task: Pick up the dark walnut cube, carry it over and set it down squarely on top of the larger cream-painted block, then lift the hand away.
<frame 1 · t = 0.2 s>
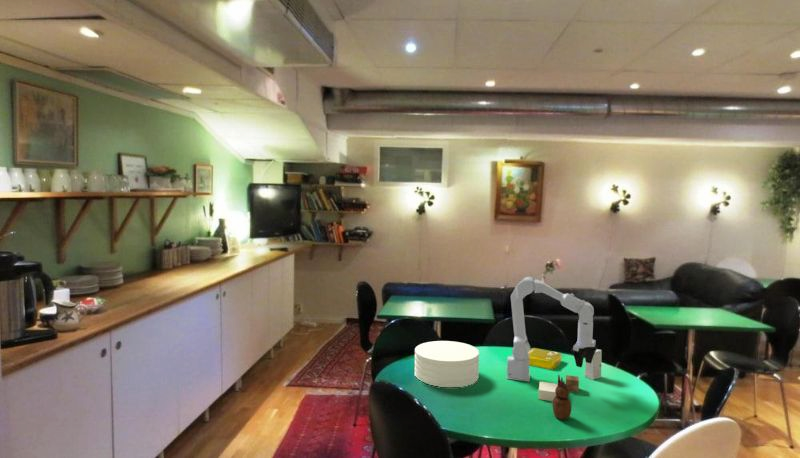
hand: (583, 364, 195), 10 cm above the table, tool pointing down, fingers open, 7 cm apart
plate stack: (446, 376, 208), on the table
wooden figurine: (561, 418, 168), on the table
walnut cube: (571, 389, 194), on the table
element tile: (541, 363, 226), on the table
cream base block: (550, 397, 187), on the table
skincare box: (592, 377, 208), on the table
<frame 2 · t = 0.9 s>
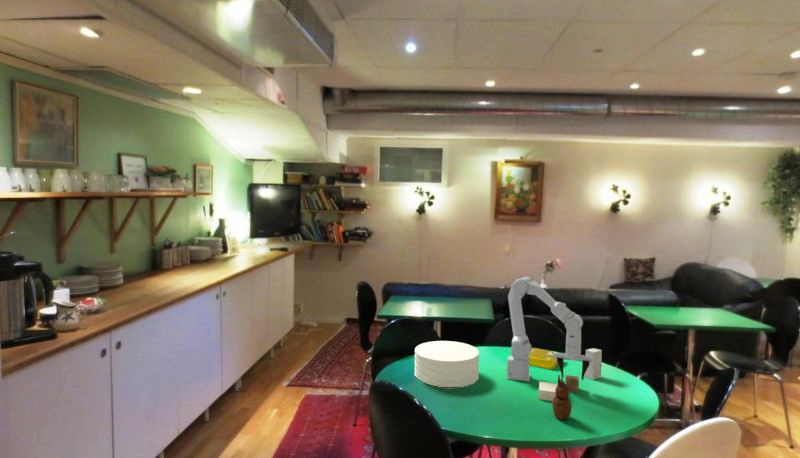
hand: (572, 377, 193), 5 cm above the table, tool pointing down, fingers open, 7 cm apart
nothing on the table moved.
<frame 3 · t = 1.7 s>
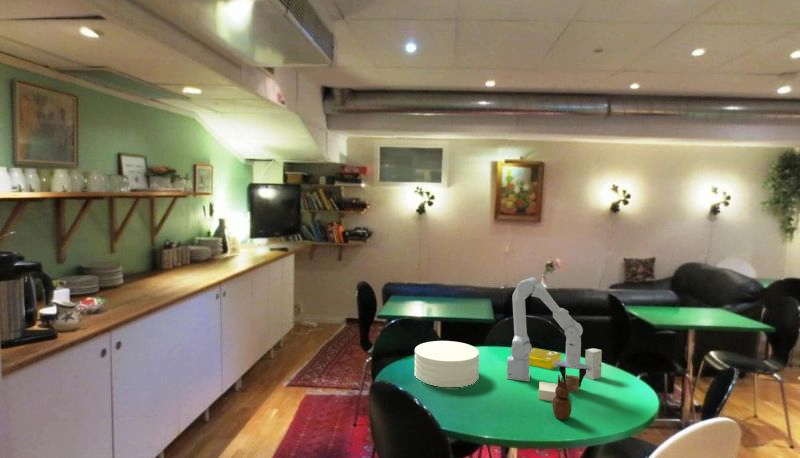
hand: (571, 385, 193), 2 cm above the table, tool pointing down, fingers closed on walnut cube, 5 cm apart
walnut cube: (571, 389, 194), on the table, touching gripper
everything else where it was.
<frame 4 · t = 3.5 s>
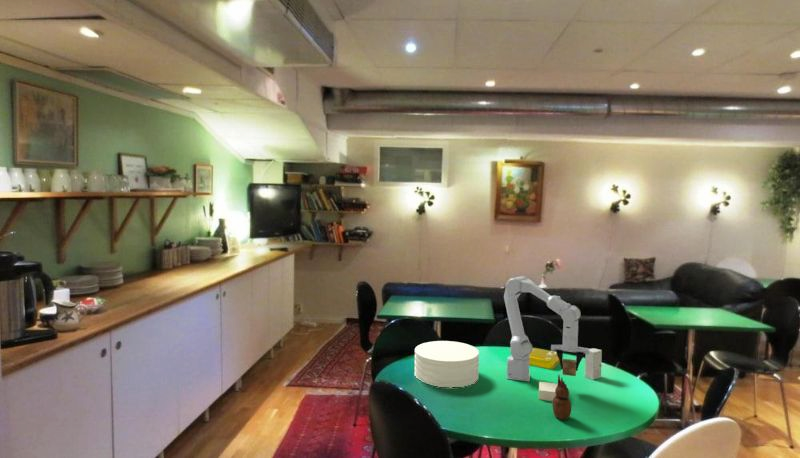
hand: (569, 369, 192), 9 cm above the table, tool pointing down, fingers closed on walnut cube, 5 cm apart
walnut cube: (569, 373, 192), point 7 cm above the table, touching gripper
everything else where it was.
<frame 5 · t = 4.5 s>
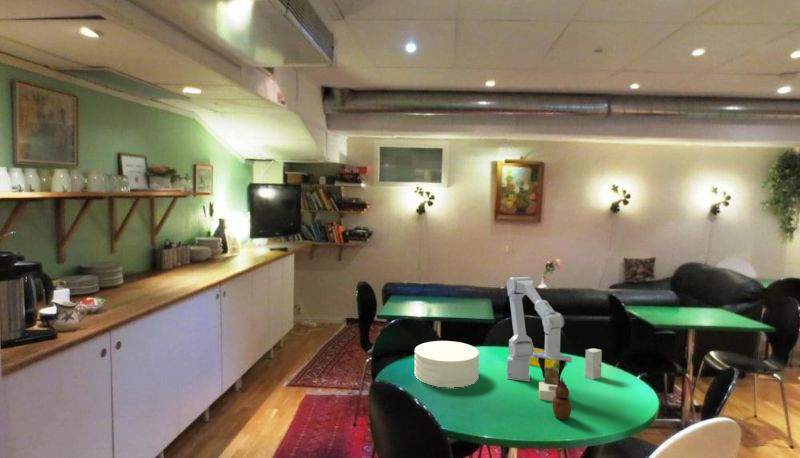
hand: (551, 378, 186), 7 cm above the table, tool pointing down, fingers closed on walnut cube, 5 cm apart
walnut cube: (551, 382, 186), point 6 cm above the table, touching gripper
everything else where it was.
when the fingers open (7 cm above the table, at t = 5.1 s): walnut cube drops 1 cm, resting on cream base block.
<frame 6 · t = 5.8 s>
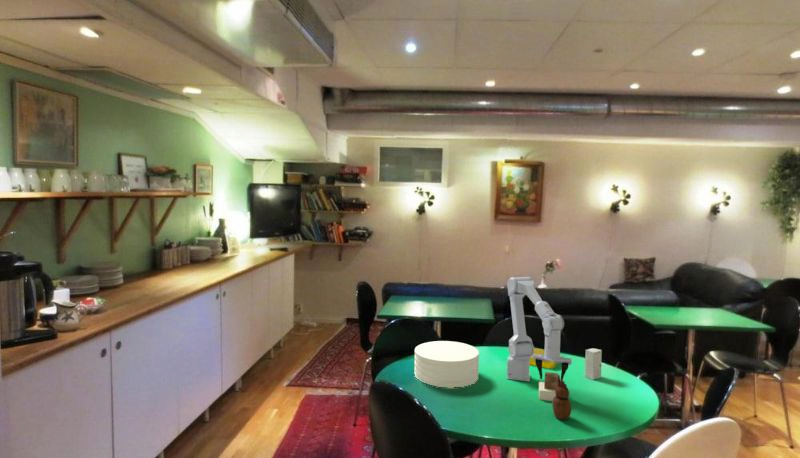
hand: (551, 379, 186), 7 cm above the table, tool pointing down, fingers open, 7 cm apart
walnut cube: (551, 387, 187), point 4 cm above the table, touching cream base block
cream base block: (550, 397, 187), on the table, touching walnut cube
everything else where it was.
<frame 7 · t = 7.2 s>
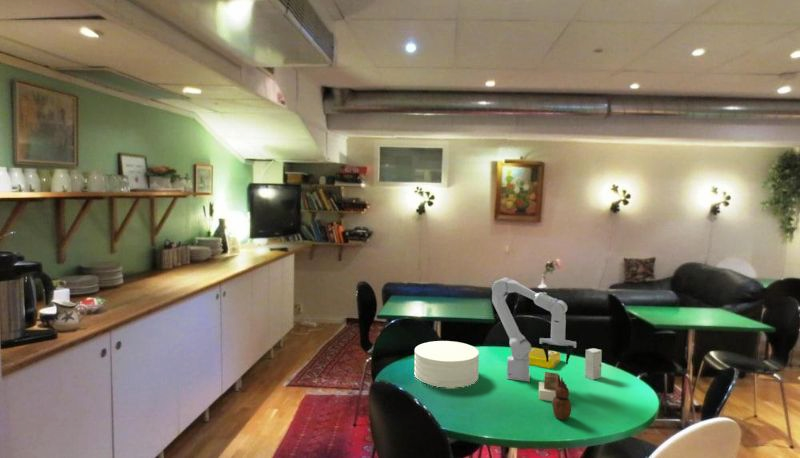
hand: (557, 362, 197), 10 cm above the table, tool pointing down, fingers open, 7 cm apart
nothing on the table moved.
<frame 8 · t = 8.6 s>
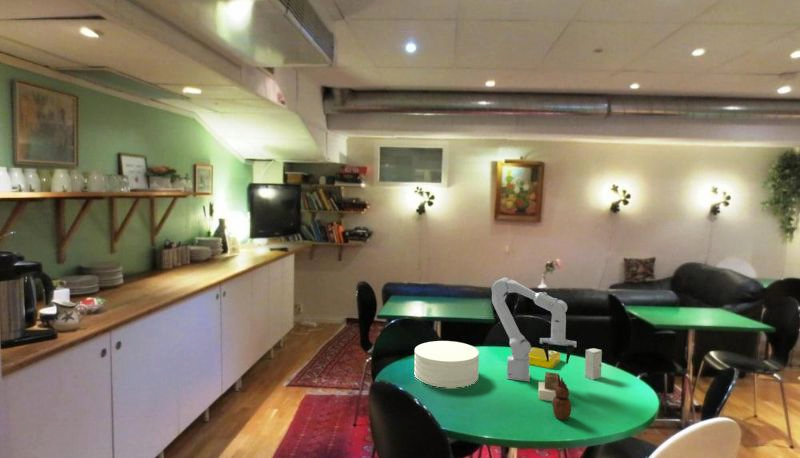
hand: (557, 361, 198), 10 cm above the table, tool pointing down, fingers open, 7 cm apart
walnut cube: (551, 387, 186), point 4 cm above the table
cream base block: (550, 397, 187), on the table
at the end: walnut cube 0.3 cm off-centre on the cream base block, point 4.0 cm above the cream base block's base; walnut cube tilted 1°; the gripper is holding nothing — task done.
